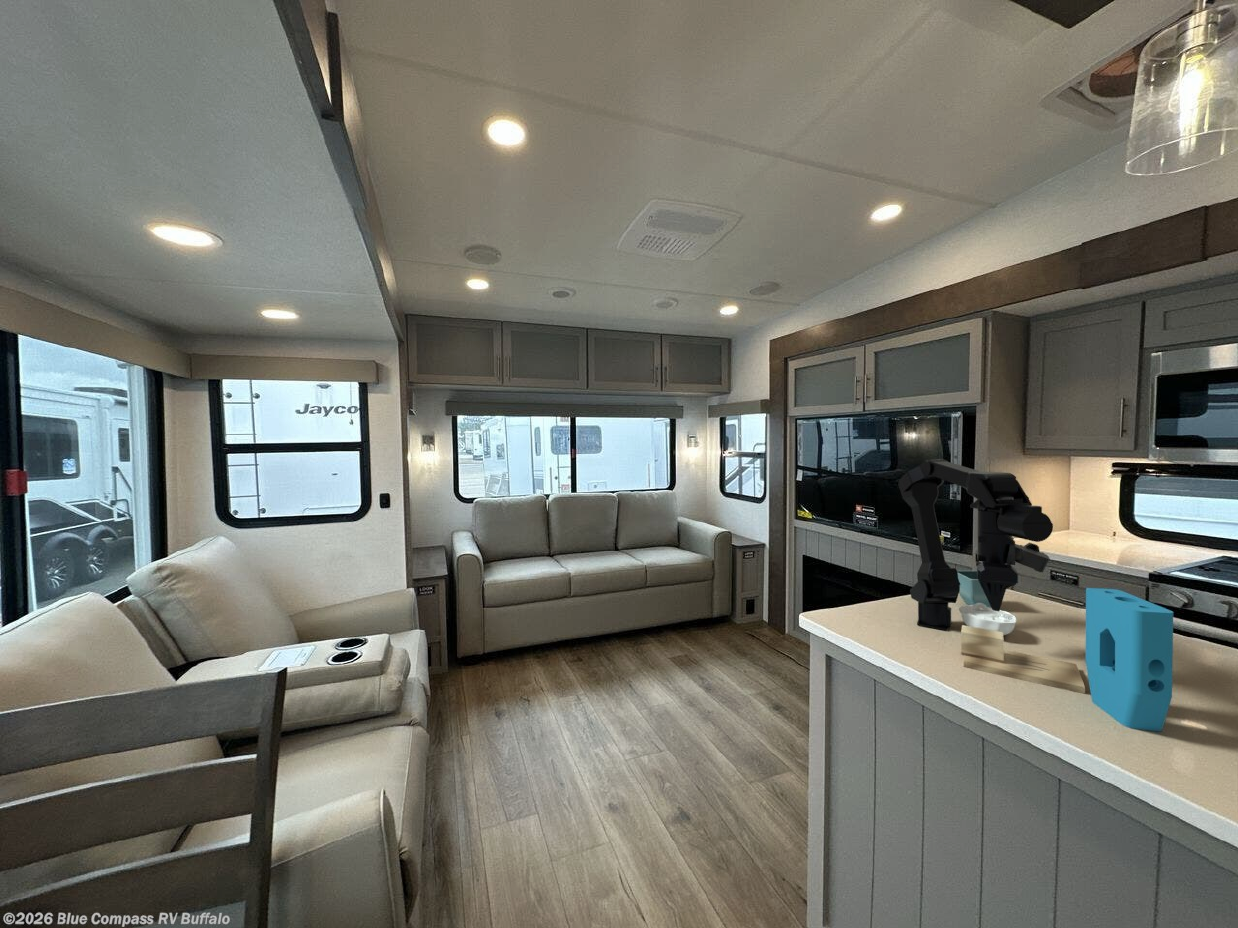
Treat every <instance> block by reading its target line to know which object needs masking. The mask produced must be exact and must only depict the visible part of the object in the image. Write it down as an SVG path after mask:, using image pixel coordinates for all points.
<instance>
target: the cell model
mask: <svg viewBox="0 0 1238 928" xmlns="http://www.w3.org/2000/svg"><path fill="white" fill-rule="evenodd" d="M958 611H959V612H960V614H961V619H962V621H963V622H964V624H966V625H965V626H970V627H976V628H981V629H987V630H993V631H998V632H1003V636H1006V635H1008V634H1010V633H1012V632H1013V630H1014V629H1015V627H1016V626H1015V625H1016V623H1017V617H1016V616H1015V615H1014V614H1013V613H1011V612H1008V611H1006V610H1001V609H1000V610H999V611H994V610H992V608H990V607H986V605H984V604H983V603H975V604H973V605H968V604H967V605H961V606H960V607H959V608H958Z"/></svg>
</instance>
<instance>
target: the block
mask: <svg viewBox="0 0 1238 928" xmlns="http://www.w3.org/2000/svg"><path fill="white" fill-rule="evenodd" d="M1173 654H1174V611H1172V610H1170V609H1167V608H1166V607H1163V606H1161V605H1158V604H1155V603H1153V602H1150V601H1147V600H1146V599H1143V598H1140V597H1139V596H1138V597H1137V596H1135V595H1134V594H1130V593H1128V592H1126V591H1123V590H1120V589H1115V588H1097V587H1094V588H1093V587H1086V589H1085V666H1086V673H1087V678H1088V684H1089V689H1090V690H1089V691H1090V697H1091V702H1092V703H1093V704H1094V705H1096V706H1097V707H1098V708H1100V709H1101V710H1102V711H1103V712H1105V713H1106V714H1107V715H1109V716H1110V717H1111V718H1113V719H1114V720H1115V721H1116V722H1118V723H1119V724H1120V725H1122V726H1124V727H1127V728H1129V729H1134V730H1142V731H1143V730H1144V731H1151V732H1153V731H1154V732H1162V731H1163V727H1164V724H1165V721H1166V718H1167V714H1168V711H1169V708H1170V705H1171V701H1172V697H1173V667H1174V665H1173V662H1174V661H1173V658H1174V656H1173Z"/></svg>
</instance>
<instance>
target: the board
mask: <svg viewBox="0 0 1238 928" xmlns="http://www.w3.org/2000/svg"><path fill="white" fill-rule="evenodd" d="M963 667H964V668H967V669H973V670H976V671H977V670H978V671H981V672H986V673H990V674H995V675H998V676H999V675H1000V676H1004V677H1009V678H1013V679H1016V680H1022V681H1027V682H1031V683H1036V684H1041V685H1044V686H1049V687H1053V688H1058V689H1063V690H1067V691H1071V692H1076V693H1081V694H1086V687H1085V684H1084V683H1085V682H1084V681H1083V679H1082V675H1081V673H1080V670H1079V667H1078V665H1077V663H1073V662H1068V661H1063V660H1059V659H1058V660H1057V659H1053V658H1047V657H1043V656H1037V655H1031V654H1026V653H1024V652H1023V653H1022V652H1018V651H1017V652H1016V651H1011V650H1007V649H1004V663H999V662H994V661H989V660H985V659H980V658H975V657H970V656H965V655H963Z"/></svg>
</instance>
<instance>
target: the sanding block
mask: <svg viewBox="0 0 1238 928" xmlns="http://www.w3.org/2000/svg"><path fill="white" fill-rule="evenodd" d="M960 632H961V633H960V634H961V636H960V640H961V641H960V647H961V648H960V650H961V651H960V652H961V653H960V655H961V656H964V655H965V656H970V657H975V658H980V659H985V660H989V661H994V662H999V663H1004V650H1005V645H1004V635H1003V632H998V631H993V630H987V629H981V628H976V627H970V626H967V625H964V624H962V625H961V630H960Z"/></svg>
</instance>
